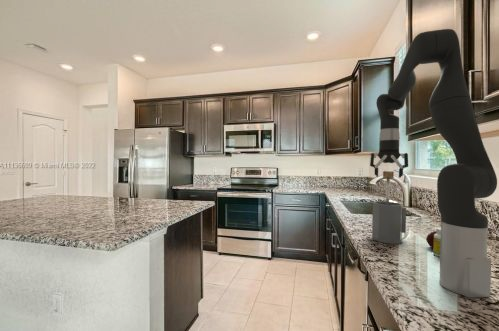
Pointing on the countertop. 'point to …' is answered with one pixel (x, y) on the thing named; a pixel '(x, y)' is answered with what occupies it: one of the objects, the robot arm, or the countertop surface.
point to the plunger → (388, 183)
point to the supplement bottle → (437, 242)
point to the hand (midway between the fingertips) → (388, 177)
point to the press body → (388, 222)
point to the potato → (431, 239)
